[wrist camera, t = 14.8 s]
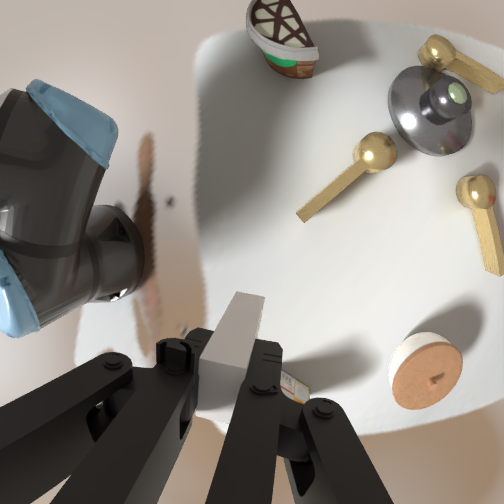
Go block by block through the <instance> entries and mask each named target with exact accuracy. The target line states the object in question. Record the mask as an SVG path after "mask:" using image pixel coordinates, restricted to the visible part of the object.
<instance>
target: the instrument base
mask: <svg viewBox="0 0 504 504" xmlns="http://www.w3.org/2000/svg"><path fill="white" fill-rule="evenodd" d="M418 56H419V59H420V61H421V63H422V64H423V65H424V66H413V67H409V68H407V69H405V70H403V71H402V72H401V73H400V74H399V75H398V76H397V78H396V79H395V80H394V81H393V83H392V84H391V86H390V89H389V93H388V108H389V112H390V115H391V118H392V121H393V123H394V125H395V127H396V128H397V130H398V131H399V133H400V134H401V135H402V137H403V138H404V139H405V140H406V141H407V142H408V143H409V144H410V145H412V146H413V147H414V148H416V149H417V150H419V151H421V152H423V153H425V154H428V155H432V156H445V155H449V154H452V153H455V152H457V151H459V150H461V149H462V148H463V147H464V146H465V145H466V143H467V141H468V140H469V137H470V134H471V127H472V120H471V114H470V109H471V97H470V94H469V92H468V90H467V88H466V87H465V86H464V84H463V83H462V82H460V81H459V80H458V79H456V78H454V77H452V76H445V75H444V74H442V73H441V72H440V71H441V70H443V69H444V68H446V69H449V70H451V71H453V72H455V73H457V74H458V75H460V76H462V77H464V78H466V79H468V80H470V81H471V82H473V83H475V84H477V85H478V86H480V87H482V88H484V89H485V90H487V91H489V92H490V93H492V94H494V93H495V92H497V91H499V90H501V89H503V88H504V79H503V78H501V77H500V76H498V75H497V74H495V73H494V72H492V71H490V70H489V69H487V68H486V67H484V66H482V65H481V64H479V63H477V62H476V61H474V60H472V59H470V58H469V57H467V56H465V55H463V54H461V53H459V52H458V51H456V50H455V49H454V47H453V45H452V44H451V43H450V42H449V41H448V40H447V39H446V38H444V37H442V36H440V35H432V36H431V37H430V38H429V39H428V40H427V42H426V43H425V44H424V45H423V47H422V48H421V49H420V50H419V52H418Z"/></svg>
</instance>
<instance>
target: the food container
mask: <svg viewBox="0 0 504 504" xmlns="http://www.w3.org/2000/svg"><path fill="white" fill-rule="evenodd" d="M246 28H247V32H248V34H249V36H250V38H251V39H252V40H253V41H254V43H255V44H256V45H258V46H259V47H260V48H261V49H262V51H263V54H264V56H265V58H266V60H267V62H268V64H269V65H270V66H271V67H272V68H273V69H274V70H275V71H277V72H278V73H280V74H282V75H284V76H287V77H291V78H299V79H304V78H312V74H313V70H314V65H315V61H316V60H319V52H318V47H314V44H313V43H312V41H311V39H310V37H309V35H308V33H307V31H306V29H305V27H304V25H303V23H302V21H301V19H300V17H299V14H298V13H297V11H296V10H295V8H294V6H293V4H292V3H291V1H290V0H252V1H251V3H250V5H249V7H248V9H247V14H246Z"/></svg>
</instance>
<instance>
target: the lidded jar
mask: <svg viewBox="0 0 504 504" xmlns="http://www.w3.org/2000/svg"><path fill="white" fill-rule="evenodd" d="M462 365H463V361H462V356H461V354H460V352H459V351H458V349H457V348H456V347H455V346H453V345H452V344H451V343H450V342H449V341H448V340H446V339H445V338H444V337H442V336H440V335H438V334H436V333H431V332H421V333H417V334H414V335H412V336H410V337H408V338H406V339H405V340H404V341H403V342H401V343H400V344H399V346H398V347H397V348H396V350H395V351H394V353H393V355H392V357H391V360H390V363H389V371H388V373H389V381H390V386H391V389H392V392H393V396H394V398H395V401H396V402H397V403H398V404H399V405H400V406H401V407H403V408H406V409H411V410H418V409H423V408H426V407H429V406H431V405H433V404H435V403H437V402H439V401H440V400H441V399H443V398H444V397H445V396H446V395H447V394H448V393H449V392H450V391H451V390H452V389H453V387H454V386H455V385H456V383H457V381H458V379H459V377H460V374H461V371H462Z"/></svg>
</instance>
